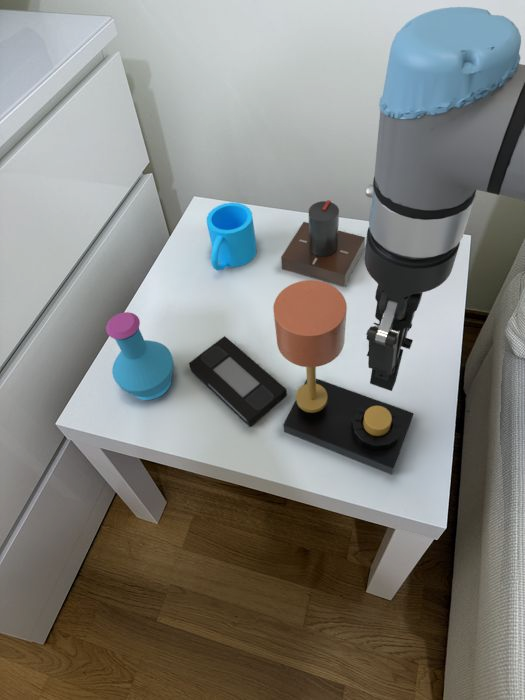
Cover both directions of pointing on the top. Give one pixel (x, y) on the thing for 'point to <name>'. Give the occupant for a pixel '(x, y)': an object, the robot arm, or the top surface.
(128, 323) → the perfume bottle
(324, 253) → the dimmer
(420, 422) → the top surface
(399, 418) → the lamp base
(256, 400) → the vhs tape
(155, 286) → the top surface
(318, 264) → the dimmer panel
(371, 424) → the switch
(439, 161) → the robot arm
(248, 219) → the mug
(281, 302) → the lamp
